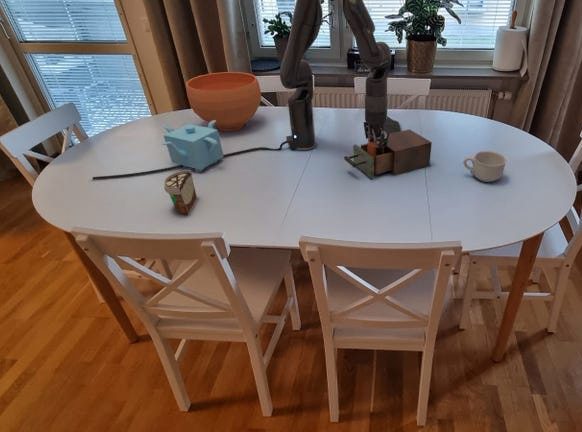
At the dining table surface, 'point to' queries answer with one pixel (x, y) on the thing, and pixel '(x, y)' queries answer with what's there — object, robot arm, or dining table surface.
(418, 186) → the dining table surface
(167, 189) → the brown and cream wedge
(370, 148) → the block
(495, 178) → the teacup
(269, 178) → the dining table surface
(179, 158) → the teakettle
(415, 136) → the cabinet
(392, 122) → the dark slate chunk
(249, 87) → the bowl
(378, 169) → the drawer
